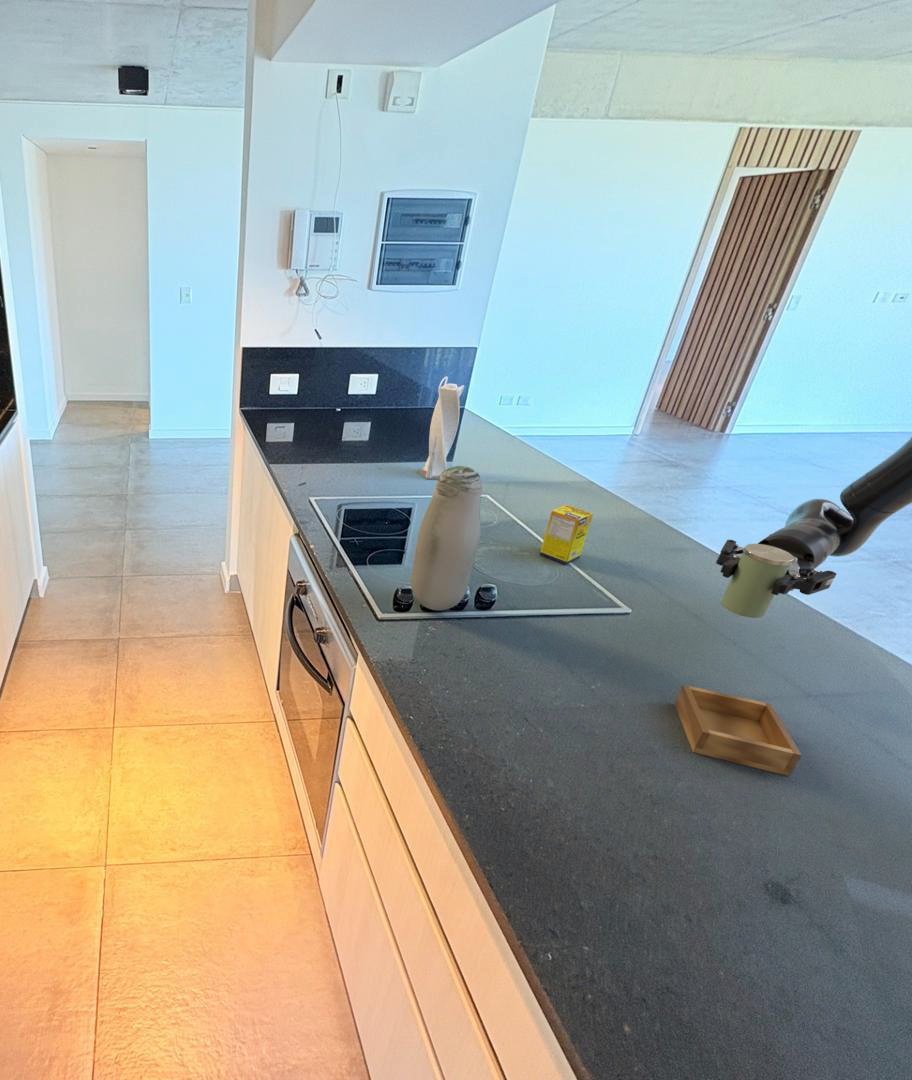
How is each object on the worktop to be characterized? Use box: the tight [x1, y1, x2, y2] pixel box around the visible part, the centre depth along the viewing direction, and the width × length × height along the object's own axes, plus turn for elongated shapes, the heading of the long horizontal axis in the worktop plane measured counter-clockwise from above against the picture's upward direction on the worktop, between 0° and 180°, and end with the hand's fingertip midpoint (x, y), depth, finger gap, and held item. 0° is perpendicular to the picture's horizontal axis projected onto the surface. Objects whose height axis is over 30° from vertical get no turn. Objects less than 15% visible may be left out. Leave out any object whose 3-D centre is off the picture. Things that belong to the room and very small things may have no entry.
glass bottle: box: [410, 465, 483, 611], centre depth 112 cm, size 10×10×28 cm
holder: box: [673, 684, 802, 777], centre depth 87 cm, size 11×11×4 cm
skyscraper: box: [416, 375, 465, 481], centre depth 176 cm, size 8×8×28 cm
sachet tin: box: [720, 543, 794, 619], centre depth 94 cm, size 6×6×10 cm
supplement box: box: [539, 504, 594, 566], centre depth 134 cm, size 6×6×11 cm
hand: (751, 579), depth 92 cm, fingers closed on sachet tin, 5 cm apart
